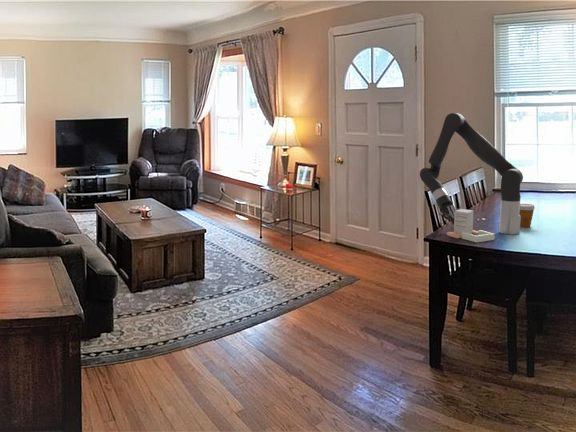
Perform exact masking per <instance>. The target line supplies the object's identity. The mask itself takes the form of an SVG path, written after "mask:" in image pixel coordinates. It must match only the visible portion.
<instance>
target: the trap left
mask: <svg viewBox="0 0 576 432" xmlns="http://www.w3.org/2000/svg"><path fill="white" fill-rule="evenodd" d="M446 236H447V237H451V238H455V239H463V238H462V235H461V234H458V233H454V231H448V232H446Z"/></svg>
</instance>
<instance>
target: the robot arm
mask: <svg viewBox="0 0 576 432" xmlns="http://www.w3.org/2000/svg"><path fill="white" fill-rule="evenodd" d="M443 120H444V121H443V125H442V127H441V131H440V133H439V136H438V139H437V142H436V144H435V146H434V148H433V150H432V153H431V155H430V157H429V160H428V163H429V164H430V167H429V168H428V167H424V168H422V169H420V171H419V177H420V179H421V181H422V182H423V184H424V185H425V186H426V187H427V188H428V189H429V191H430V193H431V195H432V196H433V199H434V202H435V203H436V206H437V207H438V209H440V211H439V212H438V215H440V216H441V217H442V218H444V219H445V220H447V221H448V220H449V221H450V222H451V223H452V225H453V226H454V216H455V211H457V210H459V209H460V208H459V207H458V208H456V207H455V206H454V205H453V200H452V199H451V197H450V196H449V194H448V191H446V189H445V187H444V185H443V184H442V183H441V181H439V180H438V178H439V176H440V173H441V167H442V163H443V162H444V159H445V157H446V155H447V152H448V149H449V145H450V142H451V140H452V138H453V137H454V134H455V133H457V134H458V135H459V136H460V137H461V138H462V139H463V140H464V141H465V143H466V145H467V146H468V148H469V149H470V150H471V152H472V153H473V154H475V156H476V157H478V158H479V160H480V161H482V162H483V163H485V164H486V165H488V166H490V167H491V168H492V169H494V170H495V171H496V172H497V173H498V174H499V175H500V176H501V178H500V179H501V180H500V212H499V226H498V228H499V229H498V230H499V231H498V232H499V233H501V234H503V235H509V236H510V235H511V236H512V235H518V234H520V233H521V227H520V221H521V216H520V215H519V212H520V204H521V183H522V182H523V179H524V175H523V173H522V171H520V170H519V168H517V167H516V166H514V165H513V164H512V163H510V162H509V161H508V160H507V159H506V158H505V157H504V156H503V155H502V154H501V153H500V151H499V150H498V149H497V148H496V147H495V146H494V145H493V144H492V143H491V142H489V140H488V139H486V138H485V137H484V136H483V135H482V134H481V133H479V132H478V131H477V130H476V129H475V128H473V126H472V125H470V123H469V122H468V120H466V118H465V117H464V116H463V114H461V113H459V112H451V113H448V114H447V115H446V116H445V118H444V119H443Z"/></svg>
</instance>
